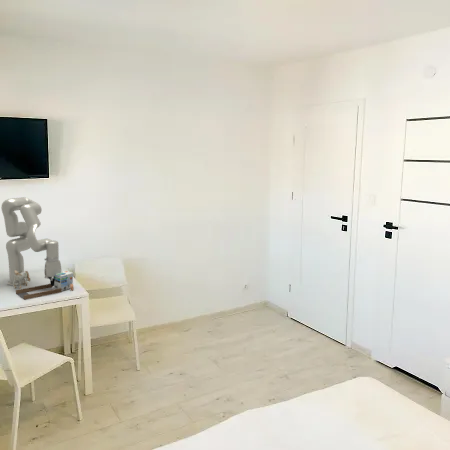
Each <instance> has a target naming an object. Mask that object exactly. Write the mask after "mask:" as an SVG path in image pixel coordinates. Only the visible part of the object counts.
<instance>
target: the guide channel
mask: <svg viewBox="0 0 450 450" xmlns="http://www.w3.org/2000/svg"><path fill="white" fill-rule="evenodd" d="M51 288H53V289H51ZM46 289H48V290H46ZM49 289H50V290H49ZM40 290H44V291H40ZM35 291H40V292H35ZM25 292H27V293H28V294H29V295H24V299H23V300H30V299H35V298H40V297H44V296H49V295H56V294H60V293H62V292H63V291H62V289H61V288H59V289H54V286H51V284H50V283H47V284H41V285H36V286H31V287H30V286H29V287H26V288H20V289H19V288H18V289H16V290H15V295H17V294H20V293H25ZM29 292H31V293H29ZM32 292H34V293H32Z"/></svg>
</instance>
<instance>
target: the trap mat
mask: <svg viewBox="0 0 450 450" xmlns="http://www.w3.org/2000/svg"><path fill="white" fill-rule="evenodd" d="M29 294H30V293H29V292H25V293H20V294H16V296H18V297H20V298H21V299H22V300H24V295H29Z"/></svg>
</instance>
